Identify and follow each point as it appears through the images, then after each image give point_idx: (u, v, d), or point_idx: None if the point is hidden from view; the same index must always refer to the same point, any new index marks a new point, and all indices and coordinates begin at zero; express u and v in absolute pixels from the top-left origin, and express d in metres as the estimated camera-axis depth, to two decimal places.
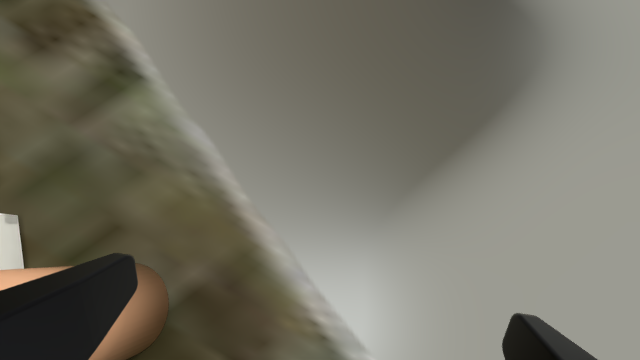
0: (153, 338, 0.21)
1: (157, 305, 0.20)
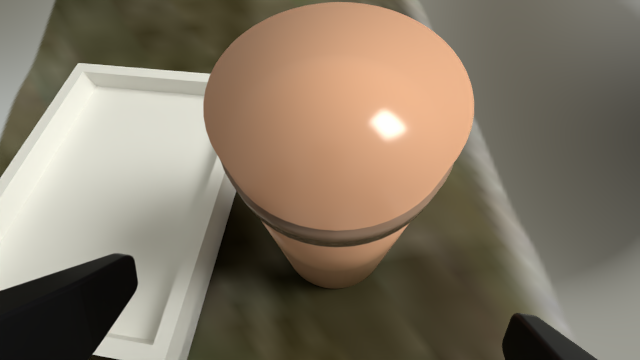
0: (360, 281, 0.17)
1: None
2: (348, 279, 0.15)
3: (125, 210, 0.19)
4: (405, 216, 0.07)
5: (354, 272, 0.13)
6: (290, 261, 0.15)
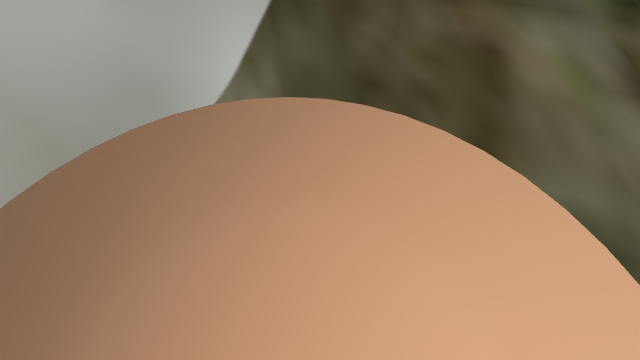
0: None
1: None
2: None
3: None
4: None
5: None
6: None
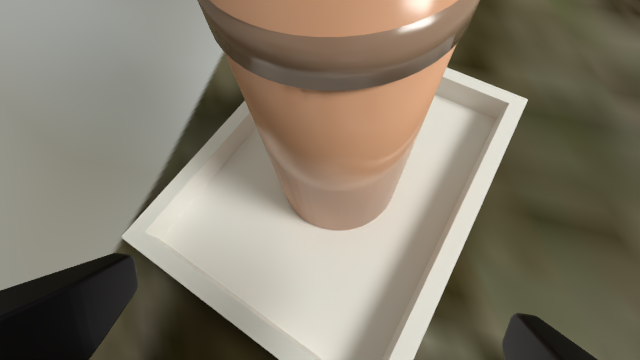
0: (368, 220, 0.15)
1: None
2: (355, 207, 0.13)
3: None
4: (433, 18, 0.05)
5: (362, 188, 0.11)
6: (289, 188, 0.13)
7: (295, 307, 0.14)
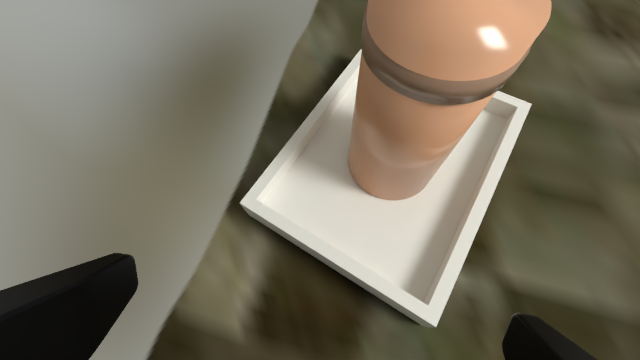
0: (417, 192, 0.21)
1: None
2: (416, 179, 0.18)
3: None
4: (506, 72, 0.11)
5: (428, 164, 0.17)
6: (370, 166, 0.18)
7: (366, 253, 0.20)
